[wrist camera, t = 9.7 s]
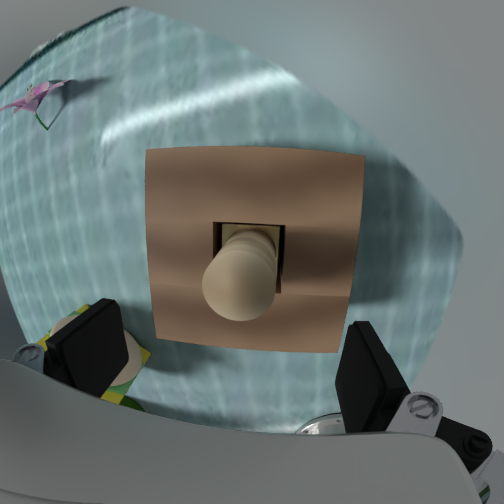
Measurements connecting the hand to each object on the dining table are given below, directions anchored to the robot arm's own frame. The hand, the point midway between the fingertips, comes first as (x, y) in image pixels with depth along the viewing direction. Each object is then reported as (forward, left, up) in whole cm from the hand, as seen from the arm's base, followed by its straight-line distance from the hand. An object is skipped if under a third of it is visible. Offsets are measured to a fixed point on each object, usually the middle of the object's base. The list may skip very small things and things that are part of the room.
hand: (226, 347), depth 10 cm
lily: (+19, +30, -20) cm, 40 cm away
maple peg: (0, 0, -12) cm, 12 cm away
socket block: (0, 0, -19) cm, 19 cm away
